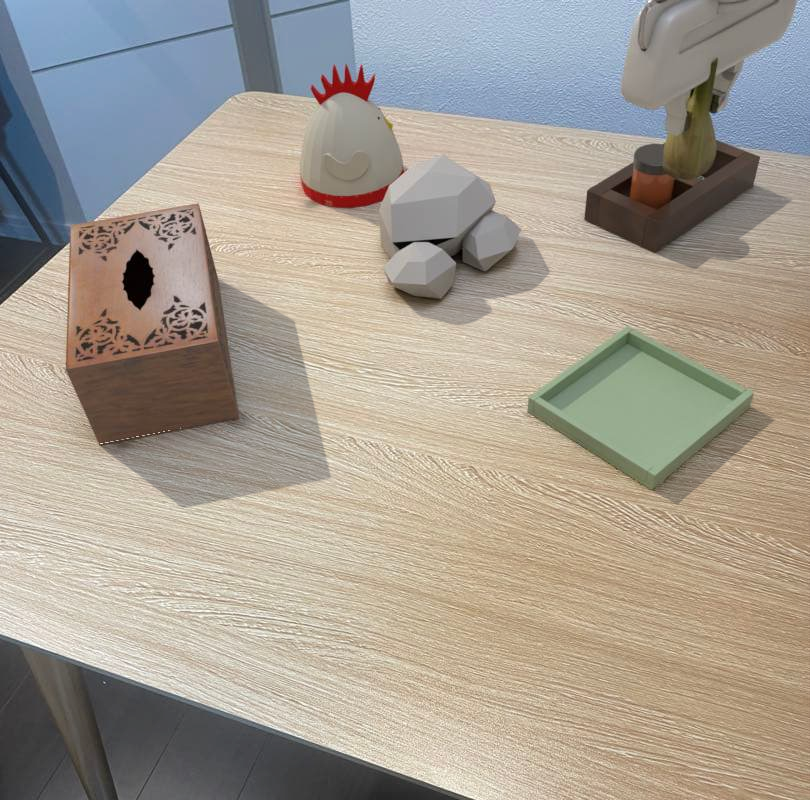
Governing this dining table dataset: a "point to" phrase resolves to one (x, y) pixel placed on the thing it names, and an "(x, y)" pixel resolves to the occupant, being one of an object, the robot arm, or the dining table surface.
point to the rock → (440, 226)
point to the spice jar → (650, 177)
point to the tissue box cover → (147, 325)
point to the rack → (687, 202)
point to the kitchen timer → (348, 146)
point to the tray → (640, 405)
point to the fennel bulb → (693, 136)
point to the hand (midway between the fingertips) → (695, 120)
